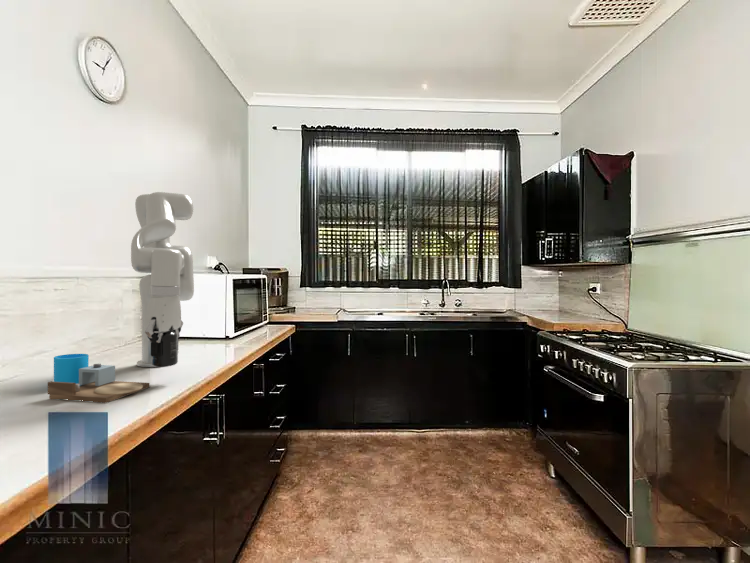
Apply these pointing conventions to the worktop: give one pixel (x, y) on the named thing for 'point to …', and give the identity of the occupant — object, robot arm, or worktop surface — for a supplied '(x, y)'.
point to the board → (94, 390)
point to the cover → (97, 374)
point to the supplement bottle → (167, 350)
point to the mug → (69, 367)
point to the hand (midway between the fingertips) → (164, 352)
